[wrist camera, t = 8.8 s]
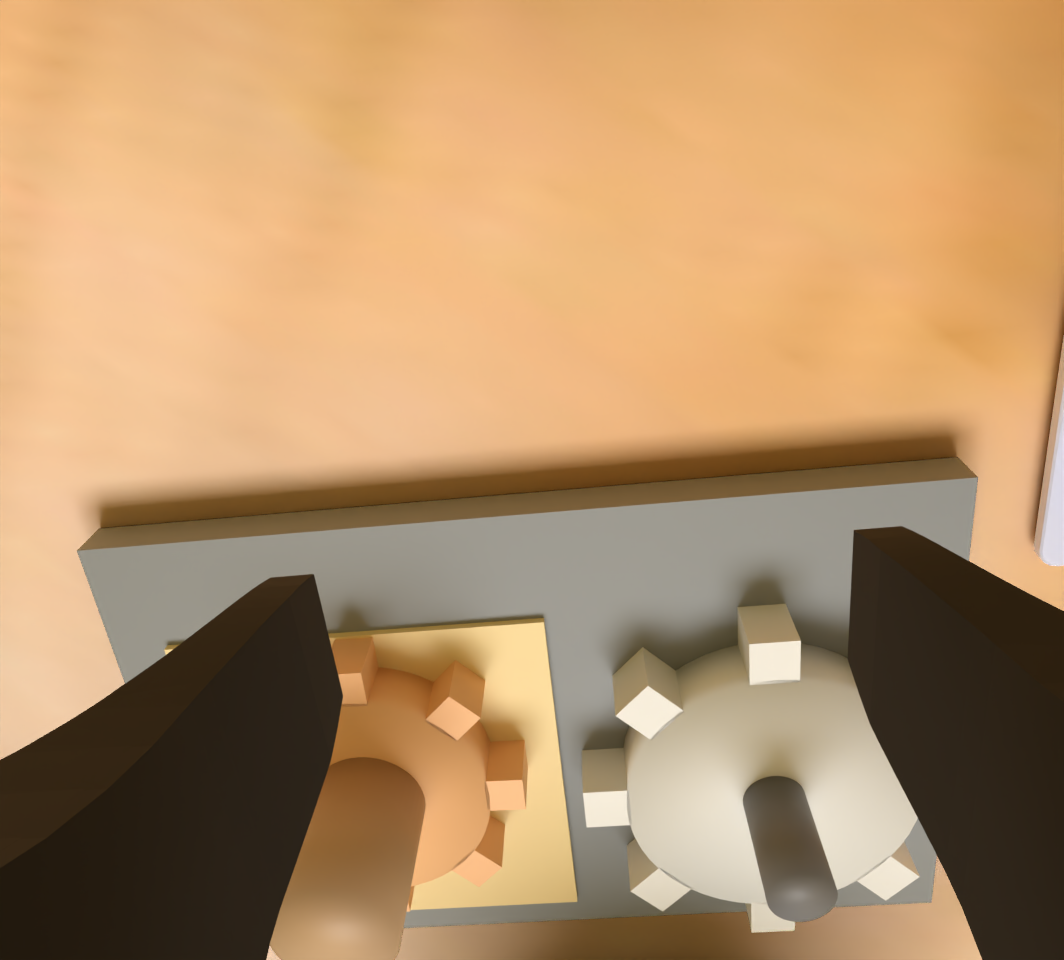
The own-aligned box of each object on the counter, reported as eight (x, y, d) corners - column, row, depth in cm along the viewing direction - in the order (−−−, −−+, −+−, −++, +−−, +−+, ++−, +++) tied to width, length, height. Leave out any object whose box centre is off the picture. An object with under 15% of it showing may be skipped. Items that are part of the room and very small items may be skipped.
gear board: (957, 456, 22) (1080, 579, 17) (916, 869, 28) (999, 1057, 23) (99, 528, 24) (-33, 660, 18) (229, 904, 29) (157, 1087, 24)
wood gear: (511, 629, 23) (497, 786, 18) (538, 863, 26) (533, 1049, 21) (199, 647, 23) (101, 804, 18) (266, 874, 27) (198, 1058, 22)
